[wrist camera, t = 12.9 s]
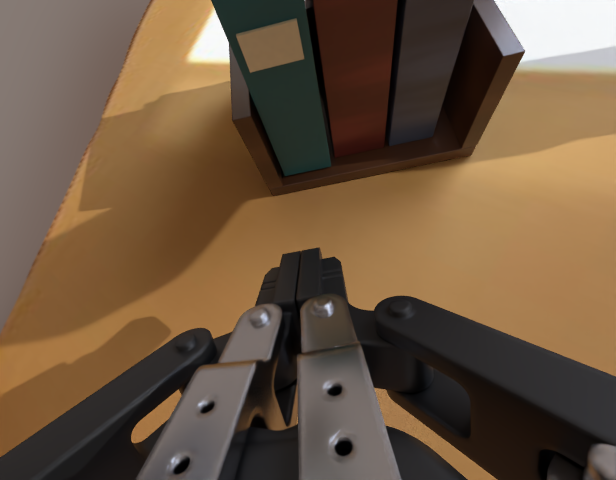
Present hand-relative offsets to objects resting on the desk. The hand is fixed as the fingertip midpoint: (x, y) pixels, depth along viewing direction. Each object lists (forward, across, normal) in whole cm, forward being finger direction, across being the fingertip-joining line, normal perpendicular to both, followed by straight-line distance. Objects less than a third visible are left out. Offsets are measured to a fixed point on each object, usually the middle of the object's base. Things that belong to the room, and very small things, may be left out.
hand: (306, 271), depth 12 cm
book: (+19, 0, -6) cm, 20 cm away
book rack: (+21, -5, -5) cm, 22 cm away
